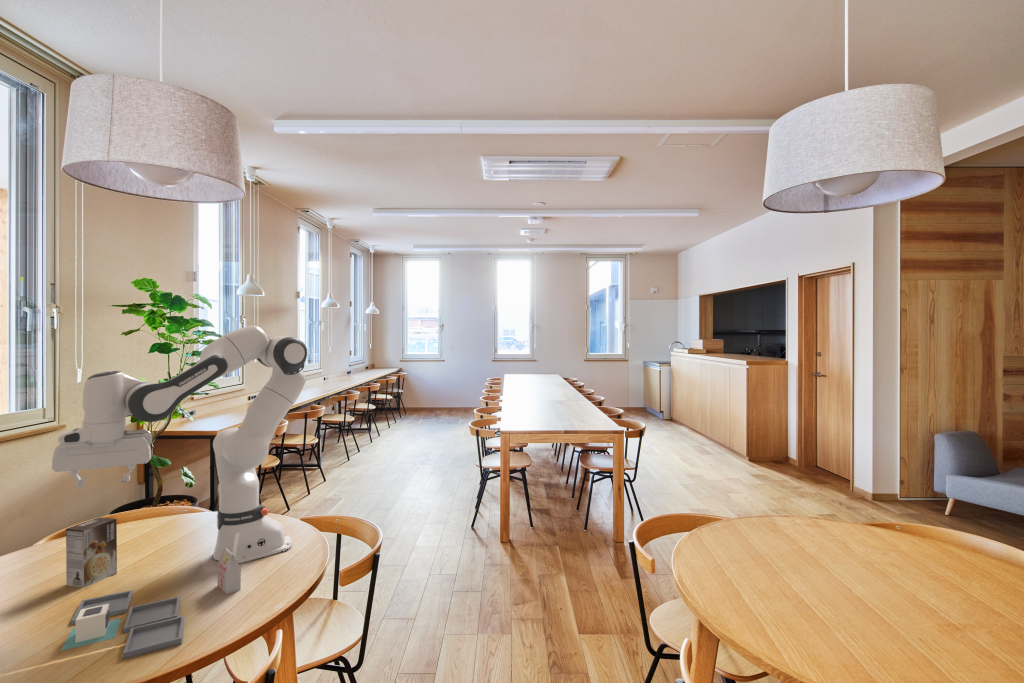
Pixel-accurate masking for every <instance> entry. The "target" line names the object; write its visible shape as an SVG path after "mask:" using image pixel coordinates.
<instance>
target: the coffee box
mask: <svg viewBox="0 0 1024 683" xmlns="http://www.w3.org/2000/svg"><path fill="white" fill-rule="evenodd" d="M117 519H118V518H111V517H101V516H99V517H96V518H93V519H91V520H88V521H84V522H82V523H79V524H76V525H73V526H71V527H66V528H65V538H66V539H65V549H66V550H65V553H66V554H65V558H66V560H65V562H66V563H65V564H66V566H65V571H66V574H65V575H66V577H65V578H66V580H65V581H66V582H65V583H66V586H71V587H76V588H86V587H88V586H90V585H92V584H95V583H97V582H100V581H102V580H103V579H106V578H110V577H112V576H113V575H117V573H118V567H117V566H118V561H117V560H118V556H117V554H118V544H117V543H118V541H117V539H118V538H117V535H118V534H117V533H118V532H117V530H118V529H117V524H118V523H117Z"/></svg>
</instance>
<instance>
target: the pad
mask: <svg viewBox="0 0 1024 683" xmlns="http://www.w3.org/2000/svg"><path fill="white" fill-rule="evenodd" d="M121 620H122V617H121V618H120V617H119V618H116V619H112V620H109V626H108V628H107V631H106V633H105V636H102V637H98V638H93V639H89V640H85V641H81V642H77V643H75V633H76V627H75V628H72V629H71V631H70V632H69V634H68V636H67V638H66V640H65V642H64V643H63V645H62V648H61V649H60V651H61V652H62V651H68V650H70V649H75V648H78V647H83V646H87V645H91V644H92V645H93V644H95V643H96V644H97V643H99V642H103V641H109V640H112V639H115V638H116V634H117V631H118V629H119V626H120V624H121Z"/></svg>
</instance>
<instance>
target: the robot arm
mask: <svg viewBox="0 0 1024 683" xmlns="http://www.w3.org/2000/svg"><path fill="white" fill-rule="evenodd" d="M307 348H308V347H307V346H306V344H305V343H304V342H303V341H302V340H300V339H298V338H296V337H295V336H294V337H293V336H285V335H284V336H283V335H280V336H269V335H267V333H266V332H265V331H264V330H263V328H261V327H260V326H258V325H254V324H253V325H248V326H245V327H244V326H243V327H242V328H238V329H236V330H233V331H230V332H228V333H226V334H224V335H222V336H221V337H218V338H216V339H215V340H213V341H212V342H211V343H209V344H208V345H206V346H205V347H204V348H203V349H202V350H201V352H200V358H199V360H197V362H196V363H195V364H194V365H192V366H191V367H190V368H187V369H186V370H184V371H182V372H181V373H179V374H177V375H175V376H173V377H172V378H170V379H168V380H166V381H164V382H159V383H154V382H150V381H145V380H142V379H139V378H135V377H133V376H131V375H129V374H128V375H127V374H126V373H124V372H123V371H120V370H113V371H104V372H99V373H94V374H93V375H91V376H89V377H88V378H87V379H86V381H85V383H84V385H83V392H82V408H83V411H84V416H83V419H82V421H81V422H82V426H81V427H79V428H78V427H77V428H74V429H72V430H69V431H65V432H64V433H61V434H60V435H58V438H57V439H58V440H57V442H58V443H59V444H58V445H57V446H56V447H55V448H54V451H53V453H52V454H53V455H52V458H51V461H52V462H51V469H52V470H53V471H54V472H55V473H61V472H63V473H64V472H70V477H72V479H74V481H75V488H81V487H84V486H85V485H86V482H85V481H86V478H81V476H80V475H79V473H80V471H83V470H91V469H92V470H93V469H94V470H95V469H103V468H115V467H123V466H127V470H128V471H127V473H124V474H122V483H128V482H130V481H131V474H132V472H133V470H135V468H136V465H141V464H142V465H144V464H147V463H149V462H150V461H151V460H152V448H151V444H152V442H153V433H152V432H151V431H149V430H146V429H136V430H134V429H133V430H131V429H130V430H129V429H128V430H126V424H127V423H126V421H127V420H126V417H127V416H133V417H134V418H136V419H137V420H139V421H142V422H146V423H155V422H159V421H163V420H164V419H166V418H167V417H169V416H170V415H171V414H172V413H173V412H174V411H175V409H176V408H177V407H178V406H179V404H180V403H182V401H183V400H184V399H185V398H187V397H189V396H190V395H192V394H193V393H195V392H197V391H199V390H200V389H201V388H203V387H205V386H207V385H208V384H210V383H212V382H213V381H215V380H217V379H219V378H221V377H223V376H225V375H228V374H230V373H232V372H235V371H236V370H238V369H240V368H242V367H243V366H244V367H245V365H247V364H249V363H250V362H252V361H255V360H257V361H258V362H259V363H260V364H261V365H263V366H265V367H267V368H272V373H271V375H270V378H269V380H268V381H267V382H266V384H265V385H264V386H263V387H262V388H261V389H260V391H259V392H258V394H256V396H255V398H254V399H253V400H252V401H251V402H250V404H249V405H248V407H247V409H246V414H245V416H244V419H243V421H242V423H241V425H240V426H239V427H229V428H226V429H223V430H221V431H220V432H218V433H217V434H216V436H215V437H214V439H213V442H212V447H213V452H214V457H215V458H214V459H215V466H216V472H217V477H218V486H219V492H218V493H219V496H218V497H219V498H218V499H219V501H218V502H219V506H218V507H219V508H218V510H217V514H216V527H217V537H216V543H215V548H214V551H213V554H212V558H213V559H214V560H215V561H218V562H219V561H220V559H221V556H222V554H223V551H224V548H227V549H228V550H229V551H230V552H231V553H232V554H233V555H234V557H235V559H236V561H237V563H238V564H242V563H245V562H250V561H253V560H257V559H261V558H263V557H267V556H272V555H274V554H279V553H282V552H281V551H283V552H286V551H288V550H289V549H288V548H290V546H291V545H292V546H293V540H292V538H291V536H290V535H289V534H287V533H285V530H284V527H283V525H282V523H281V522H280V521H278V520H276V519H274V518H272V517H270V515H268V514H269V510H268V508H267V506H266V505H265V504H264V503H260V480H259V477H258V474H257V469H256V468H257V467H258V466H260V465H262V464H263V463H264V462H265V461H266V459H267V458H268V455H269V452H270V451H269V450H270V449H269V447H270V444H271V442H272V440H273V438H274V436H275V433H276V431H277V430H278V427H279V425H280V424H281V423H282V421H283V419H284V418H285V417H286V415H287V413H288V412H289V411H290V410H291V408H292V407H293V405H294V404H295V403H296V402H297V399H298V398H299V396H300V395H301V393H302V391H303V388H304V386H305V385H306V382H307V378H306V376H305V374H304V372H303V370H304V368H305V364H306V363H305V362H306V361H307V357H308V349H307ZM292 546H291V547H292ZM287 549H288V550H287ZM290 549H291V548H290ZM285 550H286V551H285ZM278 552H279V553H278Z"/></svg>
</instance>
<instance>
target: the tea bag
mask: <svg viewBox="0 0 1024 683" xmlns="http://www.w3.org/2000/svg"><path fill="white" fill-rule="evenodd" d="M239 564H240V563H237V561H236V559H235V557H234V555H233V554H232V553H231V552H230V551H229V550H228V549H227V548H224V551H223V554H222V556H221V559H220V561H218V563H217V587H218V588H219V589H220V591H221V592H222V593H223V594H224V595H225V596H227V595H229V594H232V593H235V592H238V591H241V590H242V589H241V586H242V585H241V582H242V581H241V580H242V579H241V576H242V575H241V573H242V568H241V566H240V565H239Z"/></svg>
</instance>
